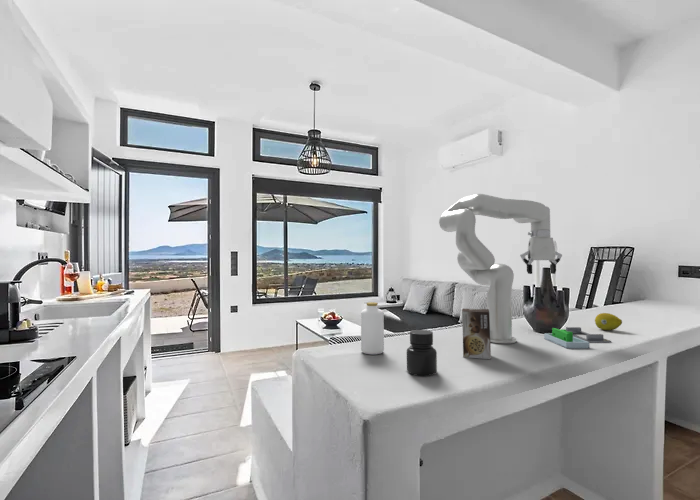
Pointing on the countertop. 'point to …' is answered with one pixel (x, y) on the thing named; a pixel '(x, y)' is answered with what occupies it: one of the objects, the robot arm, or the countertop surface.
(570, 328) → the rack rail
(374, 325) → the white bottle
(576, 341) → the parts tray
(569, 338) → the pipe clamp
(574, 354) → the countertop surface
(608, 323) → the lemon
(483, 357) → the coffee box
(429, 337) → the ink bottle
